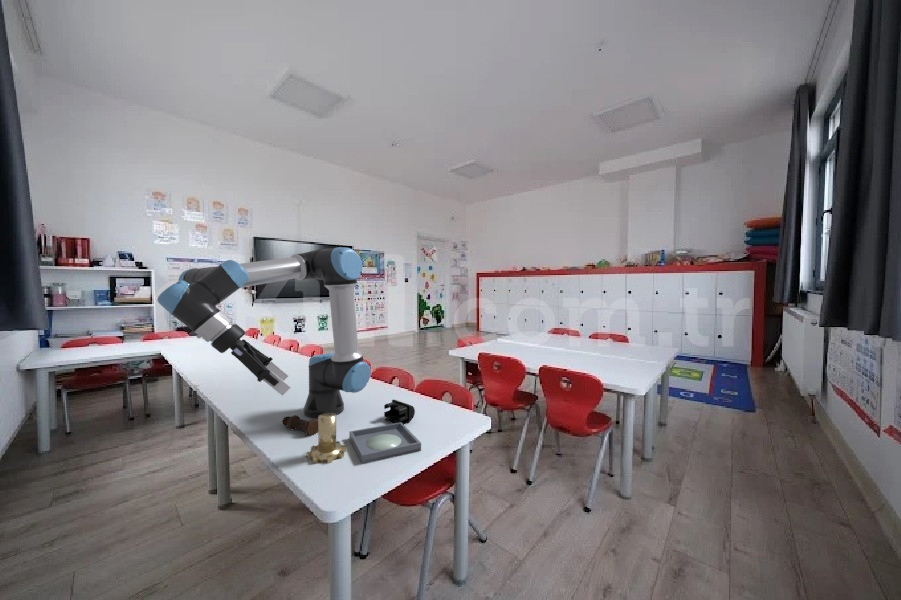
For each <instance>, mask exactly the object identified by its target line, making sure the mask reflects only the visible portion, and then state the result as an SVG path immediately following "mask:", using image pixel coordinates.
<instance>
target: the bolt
mask: <svg viewBox="0 0 901 600" xmlns="http://www.w3.org/2000/svg"><path fill="white" fill-rule="evenodd" d="M281 422H282V423H281V424H282V425H283V426H285V427H287V428H288V429H289V430H290V429H294V430H296V429H297V430H301V431H304V432H305V434H306V436H308V435H309V436H308V437H312V435H313V436H314V434H315V435H317V434H318V418H314V417H313V418H311V419H309V420H305V419H301V418H300V416H299V415H297V414H296V415H292V416H285V417H283V418H282V421H281ZM295 428H296V429H295ZM316 433H317V434H316Z"/></svg>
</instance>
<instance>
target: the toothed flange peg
mask: <svg viewBox="0 0 901 600" xmlns="http://www.w3.org/2000/svg"><path fill="white" fill-rule="evenodd" d="M317 419H318V433H317V435H318V437H317V440H318V442H317V443H318V444H317V445H312V446H310V451H307V452H306V453H307V454H306V457H307V460H312V463H313V464H318V463H326V462H327V464H330V463H333V461H335V460H337V459H343V458H344V457H345V452H347V444H342V443H341V441H337V415H336V414H335V413H324V414H321V415H319V417H318V418H317Z"/></svg>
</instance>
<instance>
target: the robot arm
mask: <svg viewBox="0 0 901 600" xmlns="http://www.w3.org/2000/svg"><path fill="white" fill-rule="evenodd" d="M362 271H363V261H362V258H361V256H360V255H359V254H358V253H357V252H356V250H354V249H352V248H350V247H345V246H344V247H341V246H339V247H331V248H330V247H329V248H318V249H314V250H310V251H307V252H302V253H296V254H291V256H290V257H284V258H276V259H268V260H260V261H250V262H243V263H239V262H237V261H236V260H233V259H228V260H226V261H224V262H221V263H219V265H217V266H210V267H200V268H198V267H196V268H195V267H194V268H189V269H187V270H186V269H185V270H184V271H183V272H181V274H180V275H179V277H178V281H177V282H176V283H173V284H172V285H170V286H168V287H167V288H165V289H164V290H163V291H162V292H161V293H160V294H159V295H158V296H157V303H158V304H159V305H160V306H161V307H162V308H164V309H165V310H166V311H167V312H168V313H169V315H171V316H173V317H174V318H175V319H177V320H178V321H180V322H181V323H182V324H183V325H185V326H186V327H188V329H190V330H191V331H192V332H194V333H195V334H197V335H196V338H197V339H201V338H202V339H203V340H204V341H205V342H207V343H209V342H210V346H211V347H212V348H214V349H215V350H216V351H218V352H219V353H221V354H224V353H226V352H227V351H228V350H229V349H230V350H231V352H230V354H231V355H232V356H234V357H235V358H236V359H237V360H238V361H239V362H240V363H241V364H243V366H245V368H247V369H248V371H250V372H251V374H253V375H254V376H255V377H256V378H257V379H256V380H257V381H258V382H259V383H261V382H262V381H263V382H264V383H266V384H267V385H268V386H269V387H271V388H272V389H274V390H275V391H276V392H277V393H278V394H280V396H284V395H285V394H286V393H287V392H288V391H289V390H290V389H291V388H292V386H290V385H289V384H288V383H287V382H286V381H285V380H286V379H287V378H288V377H289V374H287V373H286V372H285V371H284V370H283V369H281V368H280V367H279V366H278V365H277V364H276V363H274V362H273V361H272V360H273V357H271V356H267V355H266V354H264V353H263V352H261V351H260V350H259V349H257V348H256V347H255V346H253V345H252V344H251V343H250V342H248V341H246V339H243V337H244V336H245V334H246V331H245V330H244V329H243V328H242V327H240V326H239V325H238V324H237V323H233V319H231V318H230V317H229V316H228V315H227V314H226V313H225V312H224V311H222V310H221V309H219V308H218V307H217V306H218V305H220V304H221V302H223V301H225V300H226V299H227V298H229V297H230V296H231V295H232V294H234V293H236V291H238V290H239V289H242V288H247V287H248V288H249V287H253V286H260V285H265V284H270V283H271V284H272V283H276V282H282V281H287V280H293V279H294V280H297V281H302V280H304V281H305V280H322V281H323V286H324V287H325V288H326V289H327V290H328V291H329V292H328V295H329V303H330V304H329V305H330V314H331V316H330V317H331V326H332V336H333V338H332V339H333V347H334V352H330V353H323V354H317V355H312V356H311V357H310V358H309V359H308V394H307V398H306V401H305V403H304V407H303V415H304V416H305V417H308V418H313V419H314V418H316V419H318V417H319V415H321V414H324V413H335V414H336V416H337V415H339V414H342V412H343V411H344V410H345V403H344V401H343V399H344V398H343V397H342V394H341V391H342V392H345V393H352V394H355V393H359V392H362V391H363V389H364V388H366V386H367V384H368V383H369V381H370V378H371V374H372V373H371V371H372V370H371V366H370V365H369V364H368V363H367V362H365V361H364V355H363V353H362V351H360V350H359V343H358V342H359V341H358V330H357V320H356V319H357V317H356V306H355V295H354V292H355V291H354V288H355V287H356V286H357V285H358V278H359V277H360V276H361V274H362ZM241 338H242V339H241Z"/></svg>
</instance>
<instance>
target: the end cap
mask: <svg viewBox="0 0 901 600" xmlns="http://www.w3.org/2000/svg"><path fill="white" fill-rule="evenodd" d="M383 406H384V407H383V408H384V410H386V409H389V410H387V411H384V412H383V413H384V414H383V416H384V421H386V422H388V421H389V422H388V423H390V424H393V423H400V422H402V423H403V425H404V424H405V425H407V424H409V423H410V422H411V421H412V420H413V419H414V417H415V413H416V410H415V407H414V406H413V405H412V404H408V403H405V402H402V401H400V400H397V399H391V402H388V403H385V404H384V405H383ZM406 423H407V424H406ZM405 425H404V426H405Z"/></svg>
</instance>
